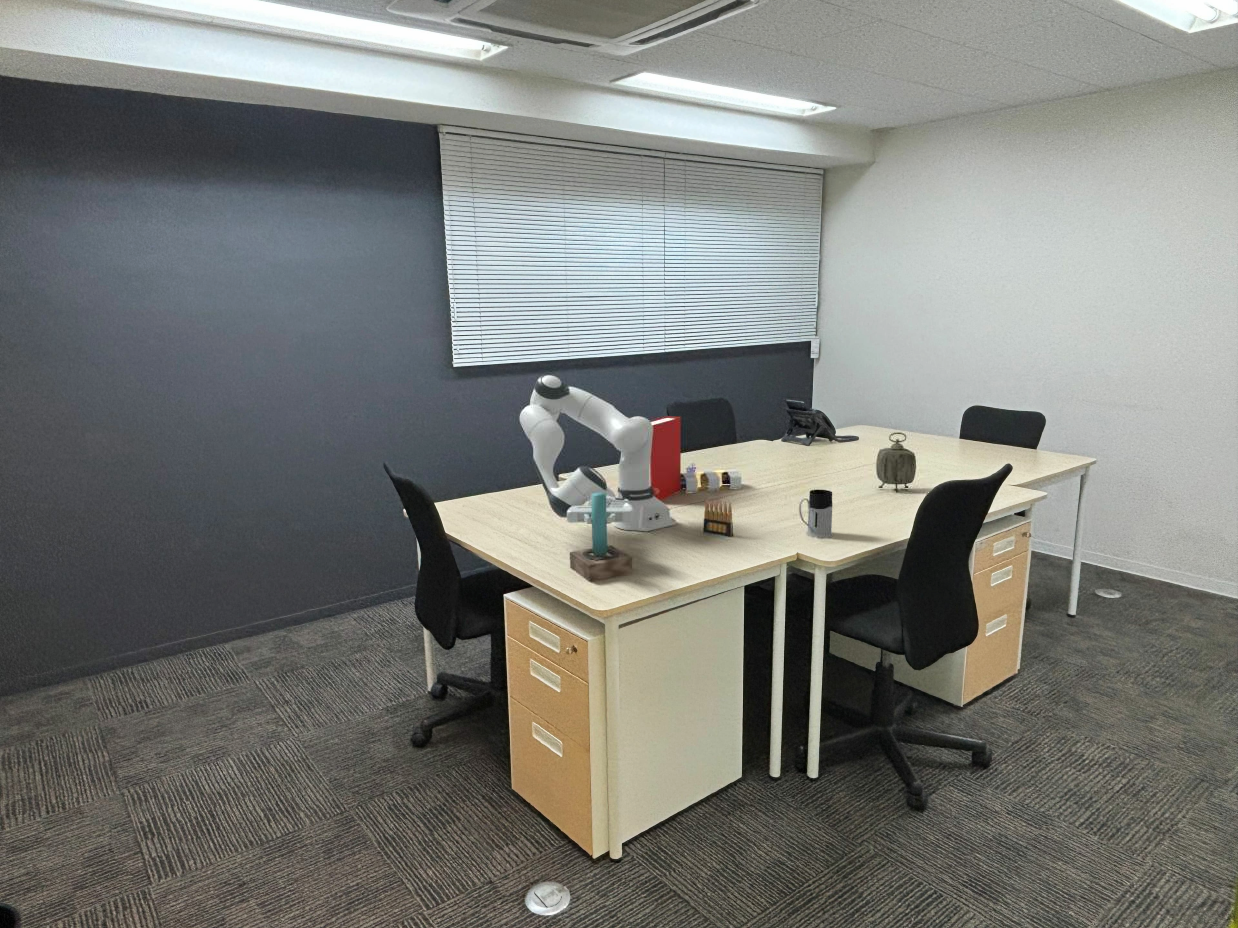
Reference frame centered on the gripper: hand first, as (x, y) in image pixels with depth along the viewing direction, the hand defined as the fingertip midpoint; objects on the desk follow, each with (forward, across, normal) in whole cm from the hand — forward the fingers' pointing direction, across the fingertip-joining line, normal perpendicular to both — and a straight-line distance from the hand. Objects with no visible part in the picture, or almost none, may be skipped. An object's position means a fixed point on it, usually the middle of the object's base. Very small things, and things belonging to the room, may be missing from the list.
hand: (599, 521), depth 227 cm
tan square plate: (-1, 0, +12) cm, 12 cm away
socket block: (-1, 0, +16) cm, 16 cm away
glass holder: (-35, +71, +16) cm, 81 cm away
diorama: (-107, +42, +16) cm, 116 cm away
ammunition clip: (-38, +39, +16) cm, 57 cm away
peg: (-1, 0, +10) cm, 10 cm away
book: (-95, +20, +16) cm, 99 cm away
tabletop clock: (-100, +120, +16) cm, 157 cm away
